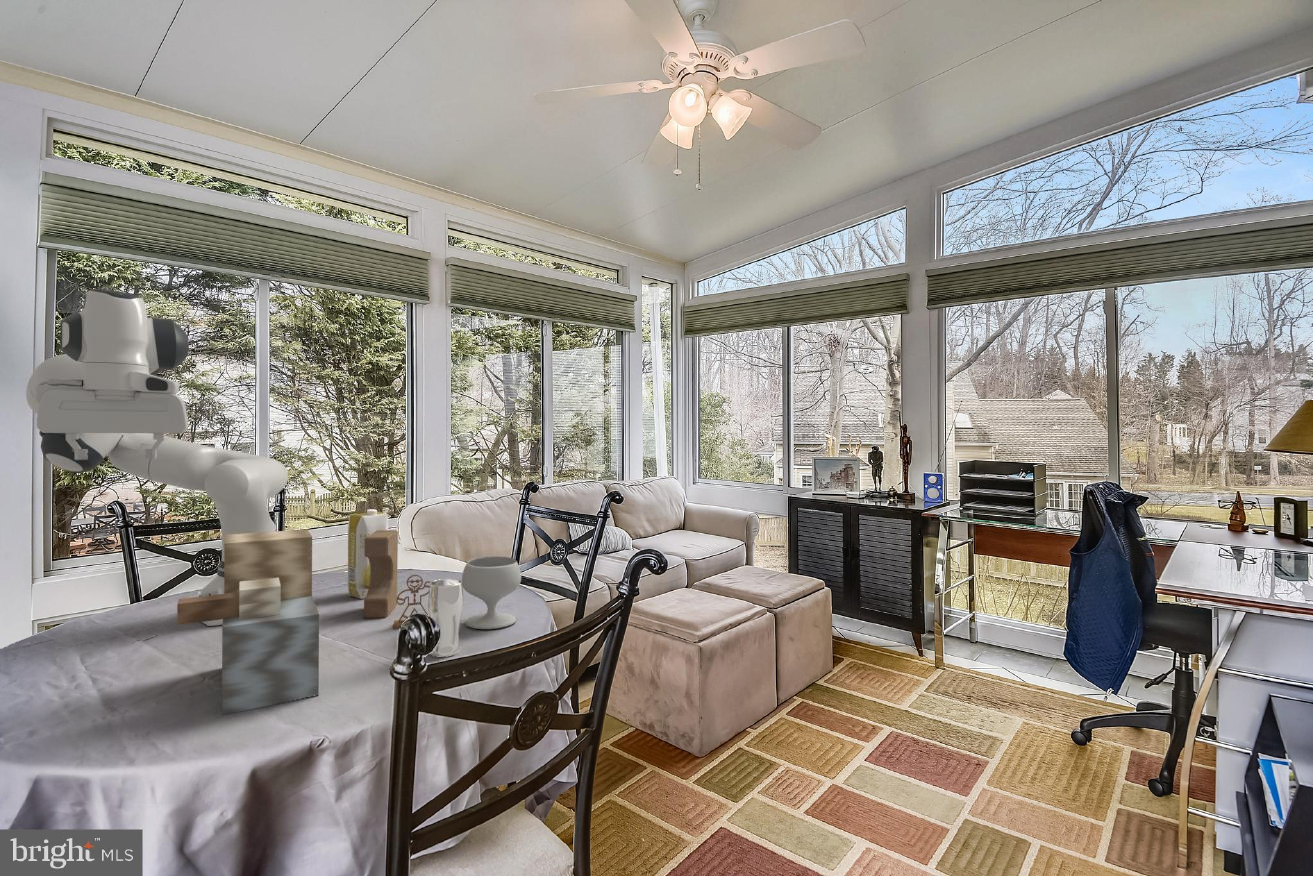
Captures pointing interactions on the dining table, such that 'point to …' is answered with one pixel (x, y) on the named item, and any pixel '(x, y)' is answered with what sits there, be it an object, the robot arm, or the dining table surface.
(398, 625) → the gingerbread man figurine
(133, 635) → the dining table surface
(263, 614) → the brown rectangular block
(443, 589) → the beer glass
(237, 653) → the step stand
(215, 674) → the dining table surface
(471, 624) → the chalice
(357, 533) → the juice carton
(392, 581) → the decorative block
